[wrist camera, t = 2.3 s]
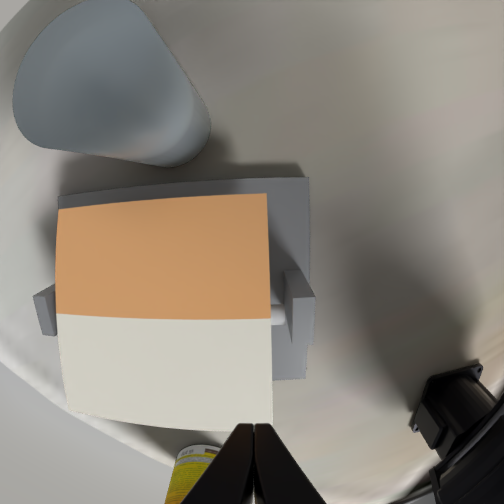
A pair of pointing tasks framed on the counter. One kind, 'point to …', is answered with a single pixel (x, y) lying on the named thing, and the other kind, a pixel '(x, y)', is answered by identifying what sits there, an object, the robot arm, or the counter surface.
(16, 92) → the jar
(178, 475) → the supplement bottle
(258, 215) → the two-tone square pad
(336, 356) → the counter surface
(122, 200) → the switch base
